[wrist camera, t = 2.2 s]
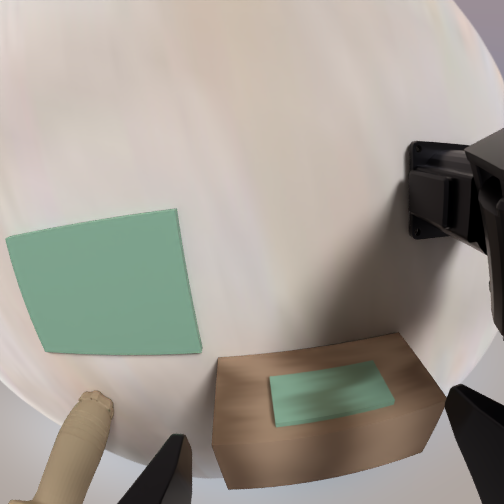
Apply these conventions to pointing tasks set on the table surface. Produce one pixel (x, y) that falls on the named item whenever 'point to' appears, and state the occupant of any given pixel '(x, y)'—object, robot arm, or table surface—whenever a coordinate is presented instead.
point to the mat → (108, 286)
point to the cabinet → (321, 411)
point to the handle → (75, 452)
